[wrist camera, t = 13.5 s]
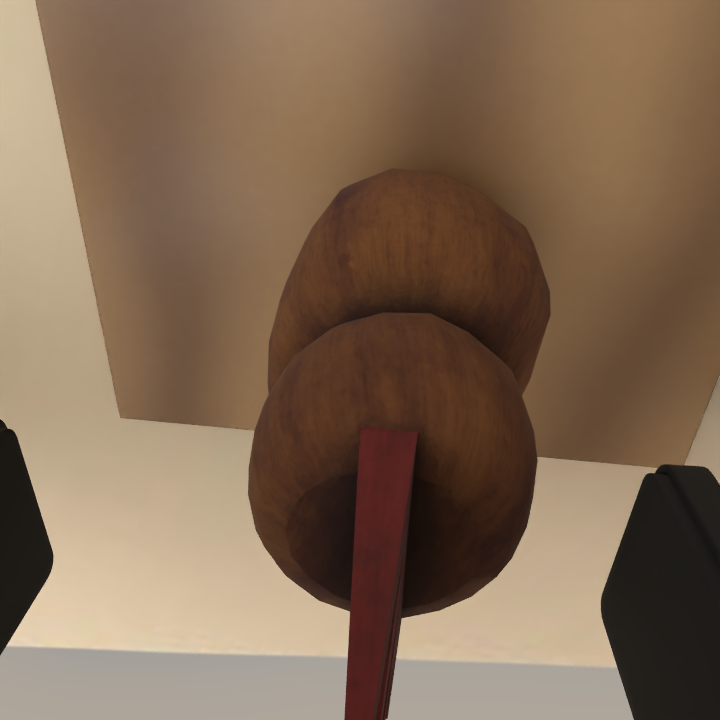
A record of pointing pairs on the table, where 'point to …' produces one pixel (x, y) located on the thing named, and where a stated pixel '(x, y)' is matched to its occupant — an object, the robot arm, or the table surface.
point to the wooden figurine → (399, 410)
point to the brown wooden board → (411, 152)
